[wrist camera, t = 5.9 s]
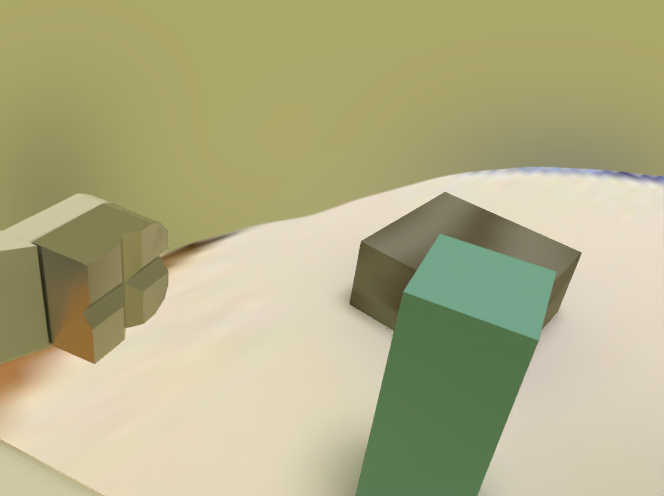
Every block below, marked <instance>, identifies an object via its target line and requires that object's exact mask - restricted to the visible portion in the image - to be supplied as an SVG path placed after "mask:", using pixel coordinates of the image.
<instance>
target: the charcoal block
mask: <svg viewBox="0 0 664 496" xmlns="http://www.w3.org/2000/svg"><path fill="white" fill-rule="evenodd" d="M439 234H443V235H446V236H449V237H452V238H455V239H458V240H461V241H464V242H467V243H470V244H473V245H476V246H479V247H482V248H485V249H488V250H492V251H495V252H498V253H501V254H504V255H507V256H510V257H513V258H516V259H519V260H522V261H525V262H528V263H531V264H534V265H537V266H540V267H544V268H547V269H550V270H553V271H556V276H555V279H554V283H553V287H552V291H551V295H550V299H549V302H548V306H547V310H546V314H545V318H544V322H543V325H542V329H543V328H544V327H545V325H546V324H547V323H548V322H549V321H550V320H551V319H552V317H553V316H554V315H555V314H556V313H557V312H558V310H559V307H560V305H561V302H562V300H563V297H564V295H565V293H566V290H567V288H568V285H569V283H570V280H571V278H572V275H573V273H574V271H575V268H576V266H577V263H578V261H579V258H580V256H581V252H579V251H577V250H575V249H572V248H570V247H568V246H566V245H563V244H561V243H559V242H557V241H554V240H552V239H550V238H548V237H545V236H543V235H541V234H539V233H536V232H534V231H532V230H530V229H527V228H525V227H523V226H521V225H518V224H516V223H514V222H512V221H509V220H507V219H505V218H503V217H500V216H498V215H496V214H494V213H491V212H489V211H487V210H485V209H482V208H480V207H478V206H476V205H473V204H471V203H469V202H467V201H464V200H462V199H460V198H458V197H455V196H453V195H451V194H449V193H446V192H444V193H442V194H441V195H439V196H437V197H436V198H434V199H432V200H430V201H429V202H427V203H425V204H424V205H422V206H420V207H419V208H417V209H415V210H413V211H412V212H410V213H408V214H407V215H405V216H403V217H402V218H400V219H398V220H396V221H395V222H393V223H391V224H390V225H388V226H386V227H384V228H383V229H381V230H379V231H378V232H376V233H374V234H373V235H371V236H369V237H367V238H366V239H364V240H362V241H361V244H360V250H359V255H358V261H357V266H356V272H355V277H354V283H353V288H352V294H351V299H350V305H352V306H354V307H355V308H357V309H359V310H360V311H362V312H364V313H365V314H367V315H369V316H371V317H372V318H374V319H376V320H377V321H379V322H381V323H382V324H384V325H386V326H388V327H389V328H391V329H393V330H394V329H395V325H396V321H397V316H398V312H399V308H400V304H401V299H402V295H403V291H404V290H405V288H406V287H407V285H408V283H409V282H410V280H411V279H412V277H413V276H414V274H415V272H416V271H417V269H418V268H419V266H420V264H421V263H422V261H423V260H424V258H425V257H426V255H427V253H428V252H429V250H430V249H431V247H432V246H433V244H434V242H435V241H436V239H437V238H438V236H439ZM542 329H541V330H542Z"/></svg>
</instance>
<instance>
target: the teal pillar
mask: <svg viewBox="0 0 664 496" xmlns="http://www.w3.org/2000/svg"><path fill="white" fill-rule="evenodd" d="M555 276H556V271H553V270H550V269H547V268H544V267H540V266H537V265H534V264H531V263H528V262H525V261H522V260H519V259H516V258H513V257H510V256H507V255H504V254H501V253H498V252H495V251H492V250H488V249H485V248H482V247H479V246H476V245H473V244H470V243H467V242H464V241H461V240H458V239H455V238H452V237H449V236H446V235H443V234H439V236H438V238H437V239H436V241H435V242H434V244H433V246H432V247H431V249H430V250H429V252H428V253H427V255H426V257H425V258H424V260H423V261H422V263H421V264H420V266H419V268H418V269H417V271H416V272H415V274H414V276H413V277H412V279H411V280H410V282H409V283H408V285H407V287H406V288H405V290H404V291H403V295H402V299H401V304H400V308H399V312H398V316H397V321H396V325H395V329H394V334H393V338H392V342H391V346H390V351H389V355H388V359H387V364H386V368H385V372H384V376H383V381H382V385H381V389H380V394H379V398H378V402H377V406H376V411H375V415H374V419H373V424H372V428H371V432H370V436H369V441H368V445H367V449H366V454H365V458H364V462H363V466H362V471H361V475H360V479H359V484H358V488H357V492H356V496H477V495H478V492H479V490H480V487H481V485H482V482H483V480H484V477H485V474H486V472H487V469H488V467H489V464H490V462H491V459H492V457H493V454H494V452H495V449H496V447H497V444H498V442H499V439H500V437H501V434H502V432H503V429H504V426H505V424H506V421H507V419H508V416H509V414H510V411H511V409H512V406H513V404H514V401H515V399H516V396H517V394H518V391H519V389H520V386H521V384H522V381H523V379H524V376H525V373H526V371H527V368H528V366H529V363H530V361H531V358H532V356H533V353H534V351H535V348H536V346H537V343H538V341H539V337H540V333H541V329H542V325H543V322H544V318H545V314H546V310H547V306H548V302H549V299H550V295H551V291H552V287H553V283H554V279H555Z"/></svg>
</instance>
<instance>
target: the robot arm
mask: <svg viewBox="0 0 664 496" xmlns="http://www.w3.org/2000/svg"><path fill="white" fill-rule="evenodd" d="M167 249H168V230H167V229H166V228H165V227H164V226H163V225H162V224H161V223H159V222H157V221H154V220H152V219H149V218H147V217H145V216H142V215H140V214H137V213H135V212H132V211H130V210H127V209H125V208H122V207H120V206H118V205H115V204H111V203H109V202H107V201H104V200H102V199H99V198H97V197H94V196H92V195H89V194H76V195H74V196H72V197H70V198H68V199H66V200H64V201H62V202H60V203H58V204H56V205H54V206H52V207H50V208H48V209H46V210H44V211H42V212H40V213H38V214H36V215H34V216H32V217H30V218H28V219H26V220H24V221H22V222H20V223H18V224H16V225H14V226H12V227H10V228H8V229H6V230H4V231H1V230H0V364H2V363H5V362H8V361H11V360H14V359H16V358H19V357H22V356H25V355H28V354H31V353H34V352H37V351H40V350H43V349H46V348H49V347H50V345H52V346H55V347H57V348H59V349H61V350H64V351H66V352H68V353H71V354H73V355H75V356H78V357H80V358H82V359H85V360H87V361H89V362H91V363H94V364H95V363H97V362H98V361H99V360H100V359H102V358H103V357H104V356H105V355H106V354H108V353H109V352H110V351H111V350H113V349H114V348H115V347H116V346H117V345H119V344H120V343H121V342H122V341H123V340H125V332H126V328H129V327H133V326H137V325H141V324H144V323H145V322H146V321H147V320H149V319H150V318H151V317H152V316H153V315H154V314H155V313H156V312H157V310H158V308H159V307H160V305H161V303H162V302H163V300H164V299H165V295H166V291H167V287H168V270H167V268H166V266H165V264H164V263H163V261H162V259H161V256H162V255H163V254H164V253H165V252H166V251H167ZM49 344H50V345H49ZM0 496H104V495H103V494H101V493H99V492H97V491H95V490H93V489H92V488H90V487H88V486H86V485H84V484H82V483H80V482H79V481H77V480H75V479H73V478H71V477H69V476H67V475H66V474H64V473H62V472H60V471H58V470H56V469H55V468H53V467H51V466H49V465H47V464H45V463H43V462H42V461H40V460H38V459H36V458H34V457H32V456H30V455H29V454H27V453H25V452H23V451H21V450H19V449H17V448H16V447H14V446H12V445H10V444H8V443H6V442H4V441H3V440H1V439H0Z"/></svg>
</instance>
